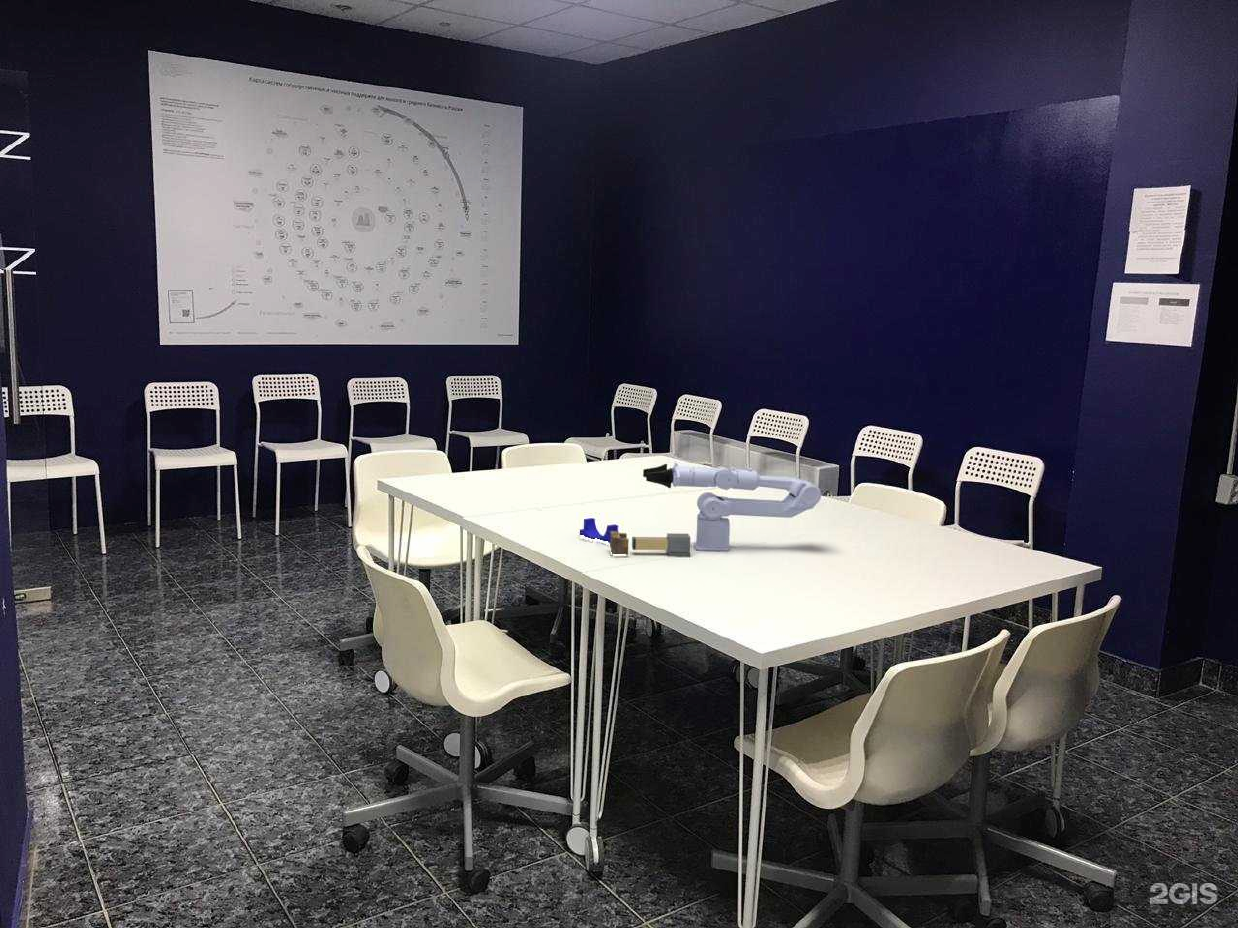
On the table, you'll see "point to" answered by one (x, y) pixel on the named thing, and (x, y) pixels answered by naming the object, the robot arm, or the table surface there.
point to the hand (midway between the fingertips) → (644, 475)
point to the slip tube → (650, 543)
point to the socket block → (618, 543)
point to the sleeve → (679, 545)
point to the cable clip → (592, 531)
